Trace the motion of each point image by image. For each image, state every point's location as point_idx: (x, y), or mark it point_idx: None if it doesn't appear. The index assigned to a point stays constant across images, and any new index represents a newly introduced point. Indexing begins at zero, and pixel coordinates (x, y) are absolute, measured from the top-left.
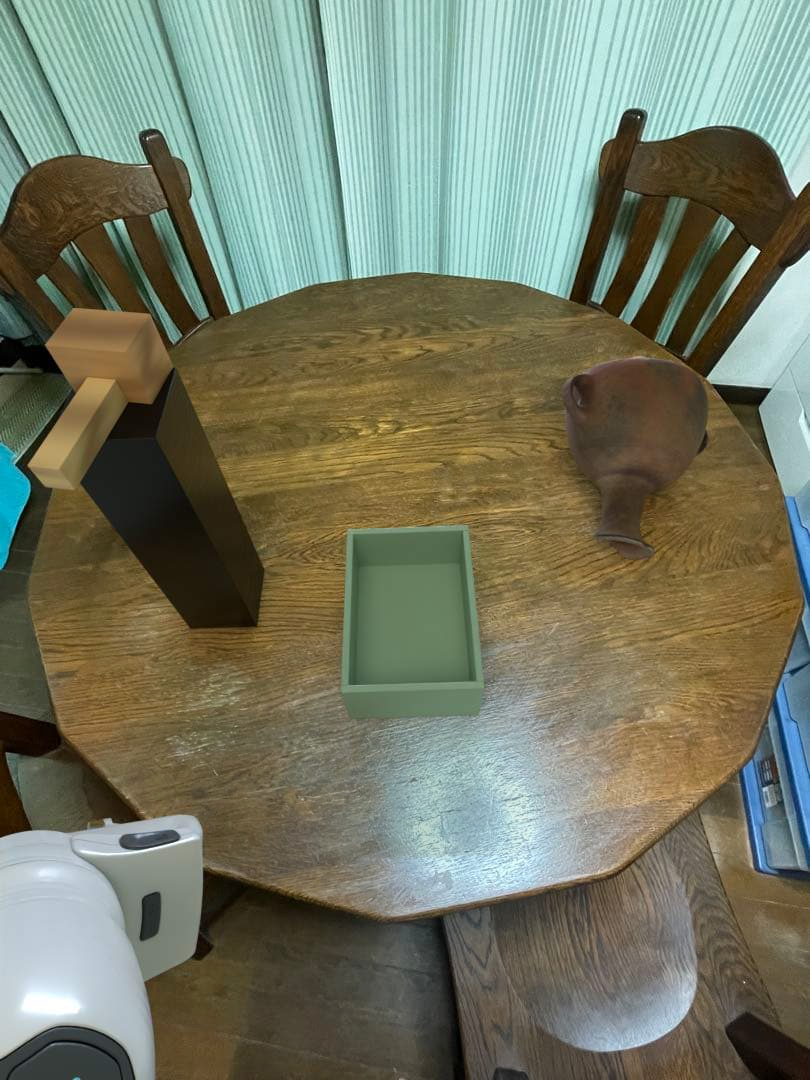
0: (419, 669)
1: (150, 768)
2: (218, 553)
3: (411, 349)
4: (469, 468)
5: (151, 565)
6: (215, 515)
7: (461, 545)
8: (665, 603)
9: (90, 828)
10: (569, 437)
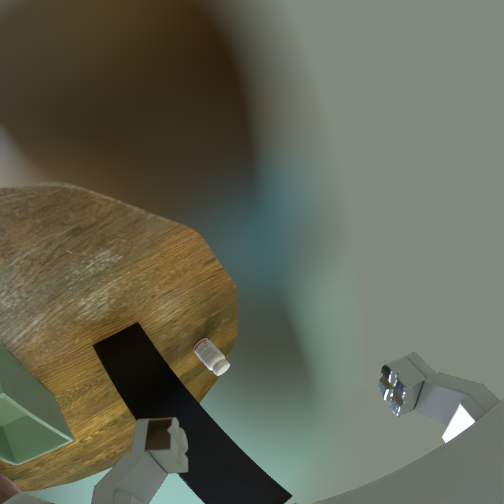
0: None
1: (126, 232)
2: None
3: (98, 456)
4: None
5: (188, 402)
6: None
7: (9, 448)
8: None
9: (186, 471)
10: (9, 490)
